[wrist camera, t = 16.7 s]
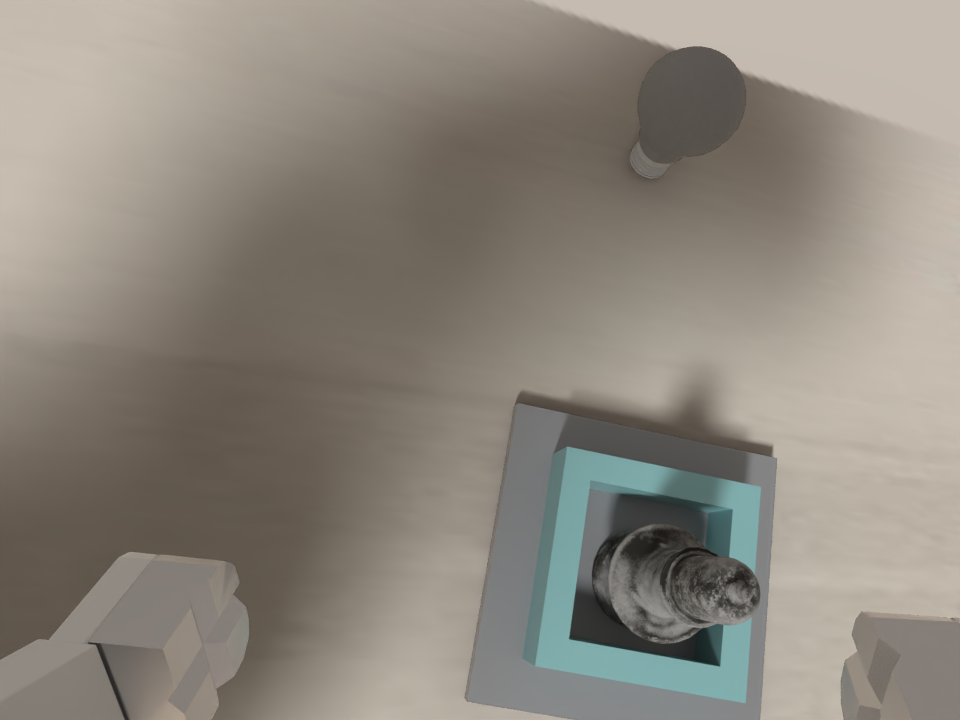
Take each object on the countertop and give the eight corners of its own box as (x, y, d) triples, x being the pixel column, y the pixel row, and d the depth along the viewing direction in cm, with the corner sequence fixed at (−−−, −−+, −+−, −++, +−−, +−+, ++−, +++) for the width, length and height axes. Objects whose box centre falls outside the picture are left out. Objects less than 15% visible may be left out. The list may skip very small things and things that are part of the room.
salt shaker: (670, 651, 41) (798, 694, 29) (572, 612, 40) (662, 640, 29) (699, 547, 42) (831, 550, 31) (605, 508, 42) (703, 496, 30)
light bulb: (704, 157, 50) (784, 63, 41) (662, 222, 49) (736, 140, 39) (630, 108, 51) (693, 2, 41) (586, 171, 49) (641, 76, 39)
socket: (748, 746, 41) (788, 765, 37) (464, 698, 39) (476, 712, 36) (768, 460, 46) (806, 451, 42) (514, 406, 44) (529, 391, 40)
